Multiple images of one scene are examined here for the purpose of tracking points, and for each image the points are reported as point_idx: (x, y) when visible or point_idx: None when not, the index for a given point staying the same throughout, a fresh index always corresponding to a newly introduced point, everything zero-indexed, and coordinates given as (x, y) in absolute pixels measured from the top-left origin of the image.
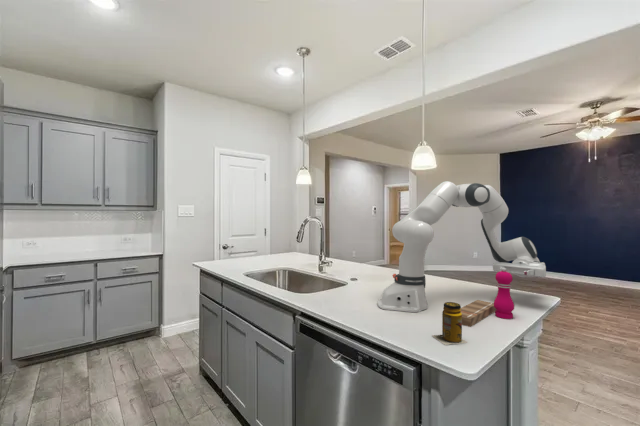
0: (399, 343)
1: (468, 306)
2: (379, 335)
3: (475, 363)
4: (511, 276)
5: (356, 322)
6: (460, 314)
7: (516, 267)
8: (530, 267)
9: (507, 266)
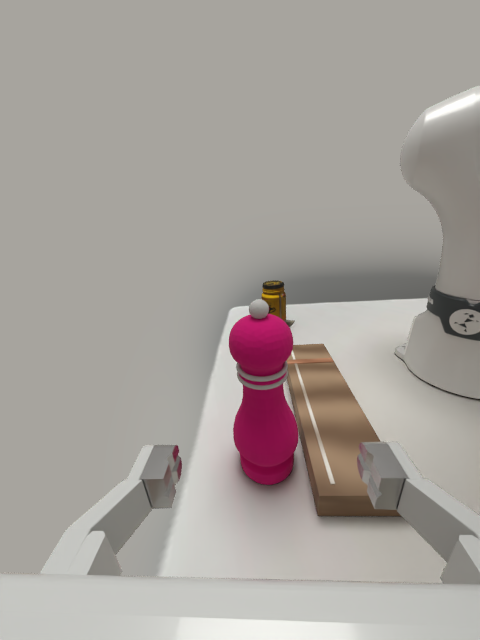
0: (301, 305)
1: (343, 395)
2: (328, 303)
3: (233, 314)
4: (230, 332)
5: (377, 305)
6: (262, 294)
7: (280, 581)
8: (65, 591)
9: (430, 589)
